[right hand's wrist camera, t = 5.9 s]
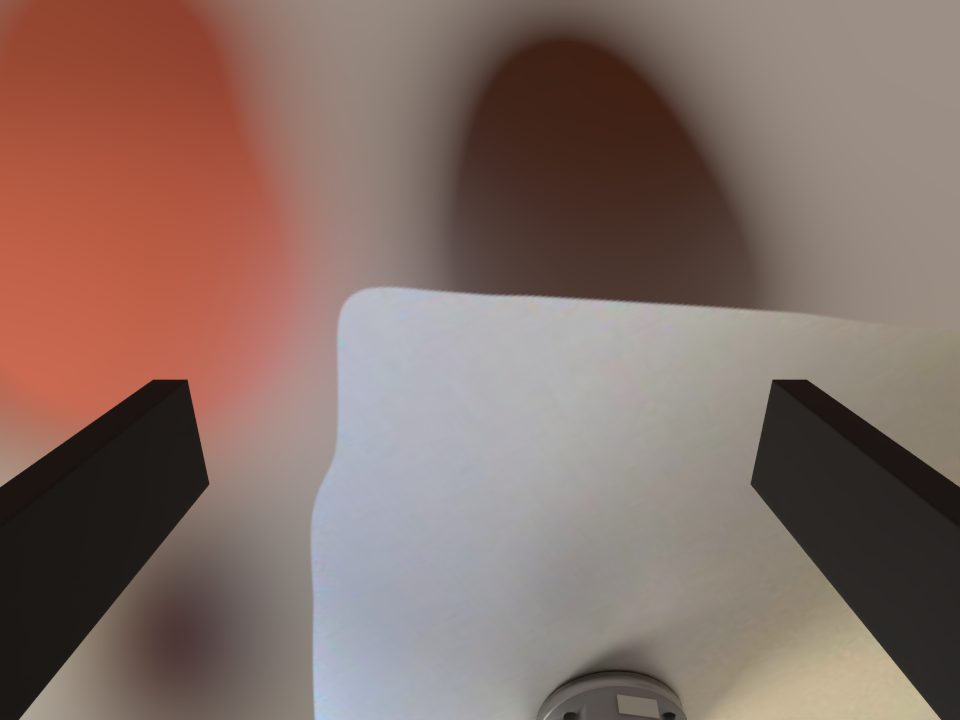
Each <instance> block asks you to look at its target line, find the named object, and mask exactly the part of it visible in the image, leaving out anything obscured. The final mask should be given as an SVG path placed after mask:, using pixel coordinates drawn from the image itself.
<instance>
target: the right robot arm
mask: <svg viewBox="0 0 960 720" xmlns="http://www.w3.org/2000/svg"><path fill="white" fill-rule="evenodd" d="M208 485H209V480H208V476H207V471H206V466H205V461H204V457H203V452H202V447H201V442H200V438H199V433H198V428H197V423H196V418H195V414H194V409H193V404H192V399H191V394H190V390H189V385H188V380H152V381H151V382H149V383H148V384H146V385H145V386H144V387H142V388H141V389H139V390H138V391H137V392H135V393H134V394H132V395H131V396H129V397H128V398H126V399H125V400H124V401H122V402H121V403H119V404H118V405H117V406H115V407H114V408H112V409H111V410H109V411H108V412H107V413H105V414H104V415H102V416H101V417H99V418H98V419H97V420H95V421H94V422H92V423H91V424H90V425H88V426H87V427H85V428H84V429H82V430H81V431H80V432H78V433H77V434H75V435H74V436H72V437H71V438H70V439H68V440H67V441H65V442H64V443H63V444H61V445H60V446H58V447H57V448H55V449H54V450H53V451H51V452H50V453H48V454H47V455H46V456H44V457H43V458H41V459H40V460H38V461H37V462H36V463H34V464H33V465H31V466H30V467H28V468H27V469H26V470H24V471H23V472H21V473H20V474H19V475H17V476H16V477H14V478H13V479H11V480H10V481H8V482H7V483H6V484H4V485H3V486H1V487H0V720H19V719H20V718H21V716H22V715H23V714H24V713H25V711H26V710H27V709H28V708H29V707H30V705H31V704H32V703H33V702H34V700H35V699H36V698H37V697H38V695H39V694H40V693H41V692H42V690H43V689H44V688H45V687H46V685H47V684H48V683H49V682H50V681H51V679H52V678H53V677H54V676H55V674H56V673H57V672H58V671H59V669H60V668H61V667H62V666H63V665H64V663H65V662H66V661H67V660H68V658H69V657H70V656H71V655H72V653H73V652H74V651H75V650H76V648H77V647H78V646H79V645H80V644H81V642H82V641H83V640H84V639H85V637H86V636H87V635H88V634H89V632H90V631H91V630H92V629H93V627H94V626H95V625H96V624H97V622H98V621H99V620H100V619H101V617H102V616H103V615H104V614H105V613H106V611H107V610H108V609H109V608H110V606H111V605H112V604H113V603H114V602H115V600H116V599H117V598H118V596H119V595H120V594H121V593H122V592H123V590H124V589H125V588H126V587H127V585H128V584H129V583H130V582H131V580H132V579H133V578H134V577H135V575H136V574H137V573H138V572H139V571H140V569H141V568H142V567H143V566H144V564H145V563H146V562H147V561H148V559H149V558H150V557H151V556H152V555H153V553H154V552H155V551H156V550H157V548H158V547H159V546H160V545H161V543H162V542H163V541H164V540H165V538H166V537H167V536H168V535H169V534H170V532H171V531H172V530H173V529H174V527H175V526H176V525H177V524H178V522H179V521H180V520H181V519H182V517H183V516H184V515H185V514H186V513H187V511H188V510H189V509H190V508H191V506H192V505H193V504H194V503H195V501H196V500H197V499H198V498H199V496H200V495H201V494H202V493H203V491H204V490H205V489H206V488H207V487H208ZM751 485H752V487H753V488H754V489H755V490H756V492H757V493H758V494H759V495H760V496H761V498H762V499H763V500H764V501H765V503H766V504H767V505H768V506H769V508H770V509H771V510H772V511H773V513H774V514H775V515H776V516H777V517H778V519H779V520H780V521H781V522H782V524H783V525H784V526H785V527H786V529H787V530H788V531H789V532H790V534H791V535H792V536H793V537H794V538H795V540H796V541H797V542H798V543H799V545H800V546H801V547H802V548H803V550H804V551H805V552H806V553H807V555H808V556H809V557H810V558H811V559H812V561H813V562H814V563H815V564H816V566H817V567H818V568H819V569H820V571H821V572H822V573H823V574H824V576H825V577H826V578H827V579H828V581H829V582H830V583H831V584H832V585H833V587H834V588H835V589H836V590H837V592H838V593H839V594H840V595H841V597H842V598H843V599H844V600H845V602H846V603H847V604H848V605H849V606H850V608H851V609H852V610H853V611H854V613H855V614H856V615H857V616H858V618H859V619H860V620H861V621H862V623H863V624H864V625H865V626H866V627H867V629H868V630H869V631H870V632H871V634H872V635H873V636H874V637H875V639H876V640H877V641H878V642H879V644H880V645H881V646H882V647H883V648H884V650H885V651H886V652H887V653H888V655H889V656H890V657H891V658H892V660H893V661H894V662H895V663H896V665H897V666H898V667H899V668H900V669H901V671H902V672H903V673H904V674H905V676H906V677H907V678H908V679H909V681H910V682H911V683H912V684H913V686H914V687H915V688H916V689H917V690H918V692H919V693H920V694H921V695H922V697H923V698H924V699H925V700H926V702H927V703H928V704H929V705H930V707H931V708H932V709H933V710H934V711H935V713H936V714H937V715H938V716H939V718H940V719H941V720H960V487H959V486H957V485H956V484H954V483H953V482H952V481H950V480H949V479H947V478H946V477H944V476H943V475H942V474H940V473H939V472H937V471H936V470H934V469H933V468H932V467H930V466H929V465H927V464H926V463H924V462H923V461H922V460H920V459H919V458H917V457H916V456H915V455H913V454H912V453H910V452H909V451H907V450H906V449H905V448H903V447H902V446H900V445H899V444H897V443H896V442H895V441H893V440H892V439H890V438H889V437H888V436H886V435H885V434H883V433H882V432H880V431H879V430H878V429H876V428H875V427H873V426H872V425H870V424H869V423H868V422H866V421H865V420H863V419H862V418H861V417H859V416H858V415H856V414H855V413H853V412H852V411H851V410H849V409H848V408H846V407H845V406H843V405H842V404H841V403H839V402H838V401H836V400H835V399H834V398H832V397H831V396H829V395H828V394H826V393H825V392H824V391H822V390H821V389H819V388H818V387H816V386H815V385H814V384H812V383H811V382H809V381H808V380H772V385H771V390H770V394H769V399H768V404H767V409H766V414H765V418H764V423H763V428H762V433H761V437H760V442H759V447H758V452H757V456H756V461H755V466H754V471H753V475H752V480H751ZM536 720H687V718H686V716H685V713H684V710H683V707H682V705H681V703H680V701H679V699H678V698H677V696H676V695H675V694H674V693H673V692H672V691H671V690H670V689H669V688H668V687H667V686H665V685H664V684H662V683H661V682H659V681H657V680H655V679H653V678H650V677H647V676H644V675H641V674H636V673H631V672H617V671H616V672H602V673H596V674H591V675H587V676H584V677H581V678H578V679H576V680H573V681H571V682H569V683H567V684H565V685H564V686H562V687H560V688H559V689H558V690H556V691H555V692H554V693H553V694H552V695H551V696H550V697H549V698H548V699H547V700H546V701H545V702H544V704H543V705H542V707H541V709H540V710H539V713H538V715H537V719H536Z"/></svg>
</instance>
